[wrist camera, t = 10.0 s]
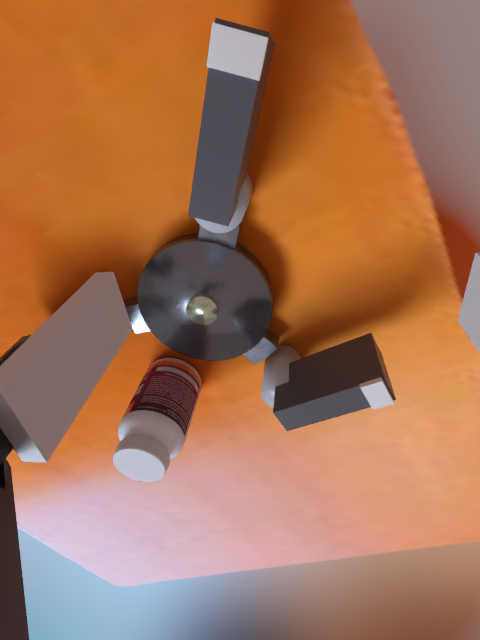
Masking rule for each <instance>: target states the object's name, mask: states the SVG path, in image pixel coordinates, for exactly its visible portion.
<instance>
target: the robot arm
mask: <svg viewBox="0 0 480 640" xmlns="http://www.w3.org/2000/svg"><path fill="white" fill-rule="evenodd" d="M458 322H459V323H460V325H461V326H462V328H463V329H464V331H465V332H466V334H467V335H468V336H469V338H470V339H471V341H472V342H473V344H474V345H475V347H476V348H477V349H478V351H479V352H480V252H478V253H475V257H474V261H473V264H472V268H471V272H470V276H469V280H468V283H467V287H466V291H465V295H464V298H463V302H462V306H461V310H460V313H459V317H458ZM132 329H133V328H132V325H131V323H130V320H129V317H128V314H127V311H126V308H125V305H124V302H123V299H122V296H121V293H120V290H119V287H118V284H117V281H116V278H115V275H114V272H96V273H95V274H94V275H93V276H92V277H90V278H89V279H88V280H87V281H86V282H85V283H84V284H83V285H82V286H81V287H80V288H79V289H78V290H77V291H76V292H75V293H74V294H73V295H72V296H71V297H70V298H69V299H68V300H67V301H66V302H65V303H64V304H63V305H62V306H61V307H60V308H59V309H58V310H57V311H56V312H55V313H54V314H53V315H52V316H51V317H50V318H49V319H48V320H47V321H46V322H45V323H43V324H42V325H41V326H40V327H39V328H38V329H37V330H36V331H35V332H34V333H33V334H32V335H31V336H30V337H29V338H28V339H27V340H25V341H23V342H22V343H20V344H19V345H17V346H15V347H14V348H13V349H12V350H11V351H10V352H8V353H7V354H6V355H5V356H4V357H3V358H2V359H3V360H2V361H0V640H29V635H28V625H27V616H26V606H25V597H24V589H23V578H22V570H21V560H20V550H19V540H18V531H17V522H16V512H15V503H14V493H13V484H12V475H11V467H10V465H9V463H8V461H7V460H6V459H5V458H6V457H7V456H8V454H9V453H10V452H11V451H12V449H14V450H15V451H16V453H17V454H18V455H19V457H20V458H21V460H22V461H23V462H47V461H48V460H49V458H50V457H51V455H52V453H53V452H54V450H55V449H56V447H57V446H58V444H59V443H60V441H61V439H62V438H63V436H64V435H65V433H66V432H67V430H68V429H69V427H70V425H71V424H72V422H73V421H74V419H75V418H76V416H77V414H78V413H79V411H80V410H81V408H82V407H83V405H84V404H85V402H86V400H87V399H88V397H89V396H90V394H91V393H92V391H93V390H94V388H95V386H96V385H97V383H98V382H99V380H100V379H101V377H102V375H103V374H104V372H105V371H106V369H107V368H108V366H109V365H110V363H111V361H112V360H113V358H114V357H115V355H116V354H117V352H118V351H119V349H120V347H121V346H122V344H123V343H124V341H125V340H126V338H127V336H128V335H129V333H130V332H131V330H132Z"/></svg>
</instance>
